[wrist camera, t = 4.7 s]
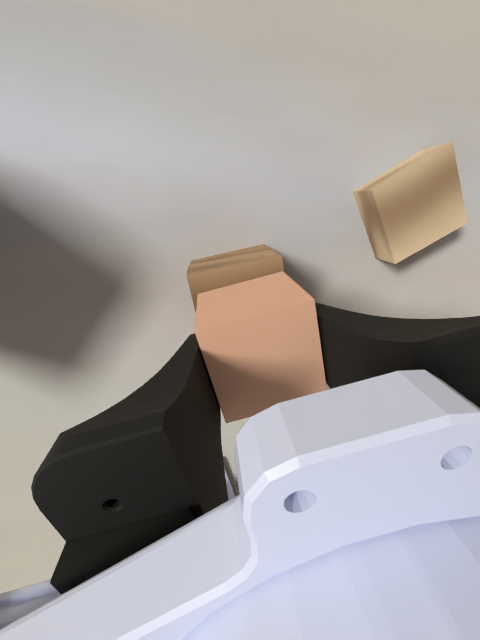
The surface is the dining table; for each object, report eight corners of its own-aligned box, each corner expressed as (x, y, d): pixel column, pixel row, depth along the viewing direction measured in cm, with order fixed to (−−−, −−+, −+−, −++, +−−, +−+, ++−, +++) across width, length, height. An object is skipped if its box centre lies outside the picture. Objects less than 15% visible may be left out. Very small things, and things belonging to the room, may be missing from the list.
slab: (436, 220, 20) (467, 223, 18) (373, 257, 20) (395, 264, 18) (420, 149, 18) (452, 141, 16) (350, 191, 18) (371, 190, 16)
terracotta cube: (296, 345, 14) (327, 395, 11) (220, 366, 14) (226, 423, 11) (282, 271, 13) (314, 299, 9) (197, 293, 13) (194, 331, 9)
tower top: (280, 324, 19) (290, 341, 16) (206, 339, 18) (206, 358, 16) (271, 249, 17) (282, 256, 14) (188, 264, 16) (186, 274, 14)
